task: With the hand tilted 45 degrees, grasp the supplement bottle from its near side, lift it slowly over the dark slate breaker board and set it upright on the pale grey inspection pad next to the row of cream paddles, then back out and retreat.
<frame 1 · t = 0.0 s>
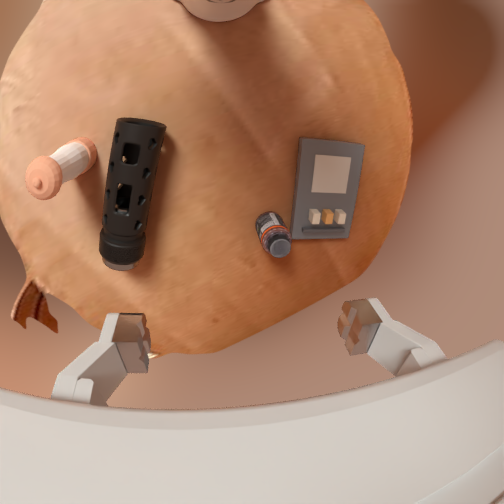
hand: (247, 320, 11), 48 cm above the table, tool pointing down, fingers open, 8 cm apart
supplement bottle: (268, 222, 63), on the table
muzzle brake: (134, 186, 55), on the table
pepper shaker: (81, 154, 49), on the table
breaker board: (325, 189, 61), on the table
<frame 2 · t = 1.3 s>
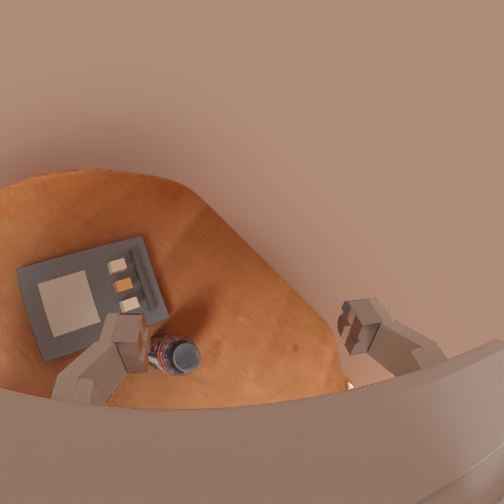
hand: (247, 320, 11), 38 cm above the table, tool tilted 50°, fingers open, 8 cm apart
supplement bottle: (160, 351, 45), on the table
breaker board: (91, 297, 40), on the table
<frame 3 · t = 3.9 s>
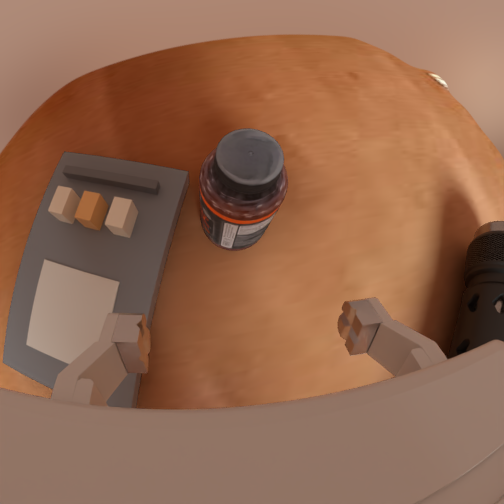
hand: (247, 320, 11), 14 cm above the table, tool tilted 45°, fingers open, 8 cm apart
supplement bottle: (233, 222, 27), on the table
muzzle brake: (451, 352, 27), on the table
breaker board: (88, 274, 24), on the table
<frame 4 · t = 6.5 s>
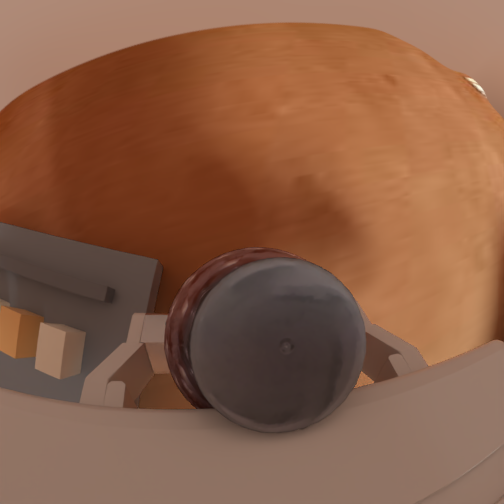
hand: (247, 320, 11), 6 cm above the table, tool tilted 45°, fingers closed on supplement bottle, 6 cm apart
supplement bottle: (236, 333, 17), on the table, touching gripper
breaker board: (40, 402, 13), on the table
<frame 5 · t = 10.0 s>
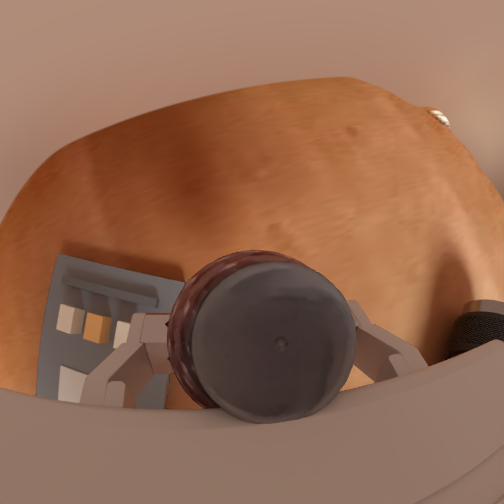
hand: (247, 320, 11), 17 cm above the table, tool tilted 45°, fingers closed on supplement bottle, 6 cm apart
supplement bottle: (235, 332, 17), point 11 cm above the table, touching gripper
muzzle brake: (431, 411, 29), on the table
breaker board: (102, 374, 25), on the table
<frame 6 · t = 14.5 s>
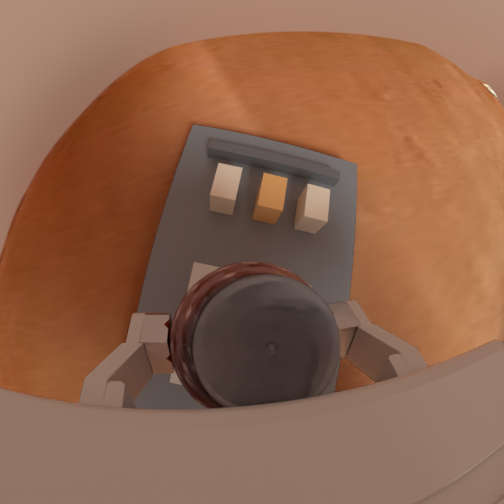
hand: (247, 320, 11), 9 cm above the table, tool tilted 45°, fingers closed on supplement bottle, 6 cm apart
supplement bottle: (233, 336, 18), point 2 cm above the table, touching breaker board, gripper
breaker board: (249, 280, 21), on the table
when the fingers open (9 cm above the table, at t = 14.5 s): supplement bottle stays where it is, resting on breaker board.
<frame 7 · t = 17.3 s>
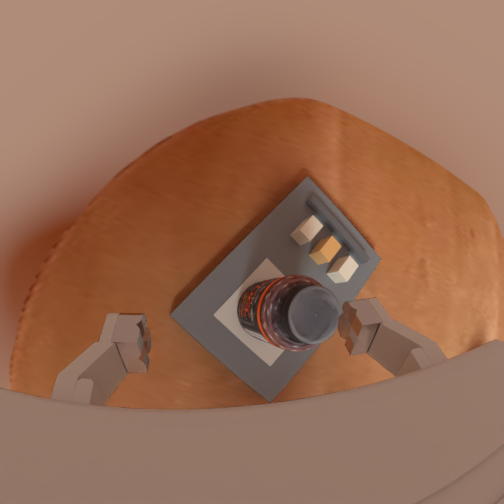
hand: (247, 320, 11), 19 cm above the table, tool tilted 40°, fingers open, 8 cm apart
supplement bottle: (263, 310, 30), point 2 cm above the table, touching breaker board
breaker board: (285, 285, 33), on the table
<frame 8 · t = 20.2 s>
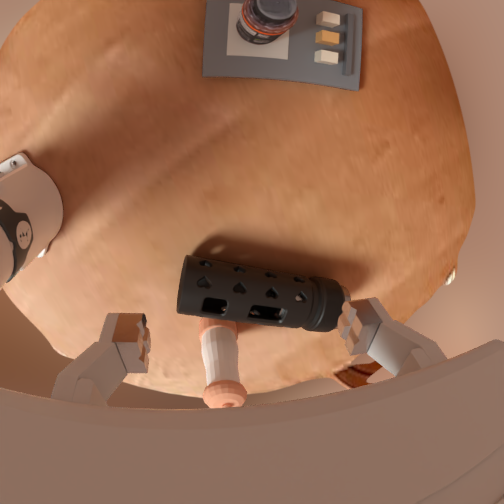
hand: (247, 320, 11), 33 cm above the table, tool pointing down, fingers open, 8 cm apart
supplement bottle: (257, 26, 29), point 2 cm above the table, touching breaker board
muzzle brake: (261, 277, 52), on the table
pepper shaker: (217, 325, 56), on the table
breaker board: (284, 36, 32), on the table
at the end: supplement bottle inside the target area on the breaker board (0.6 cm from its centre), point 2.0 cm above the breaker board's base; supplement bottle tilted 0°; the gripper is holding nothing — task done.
